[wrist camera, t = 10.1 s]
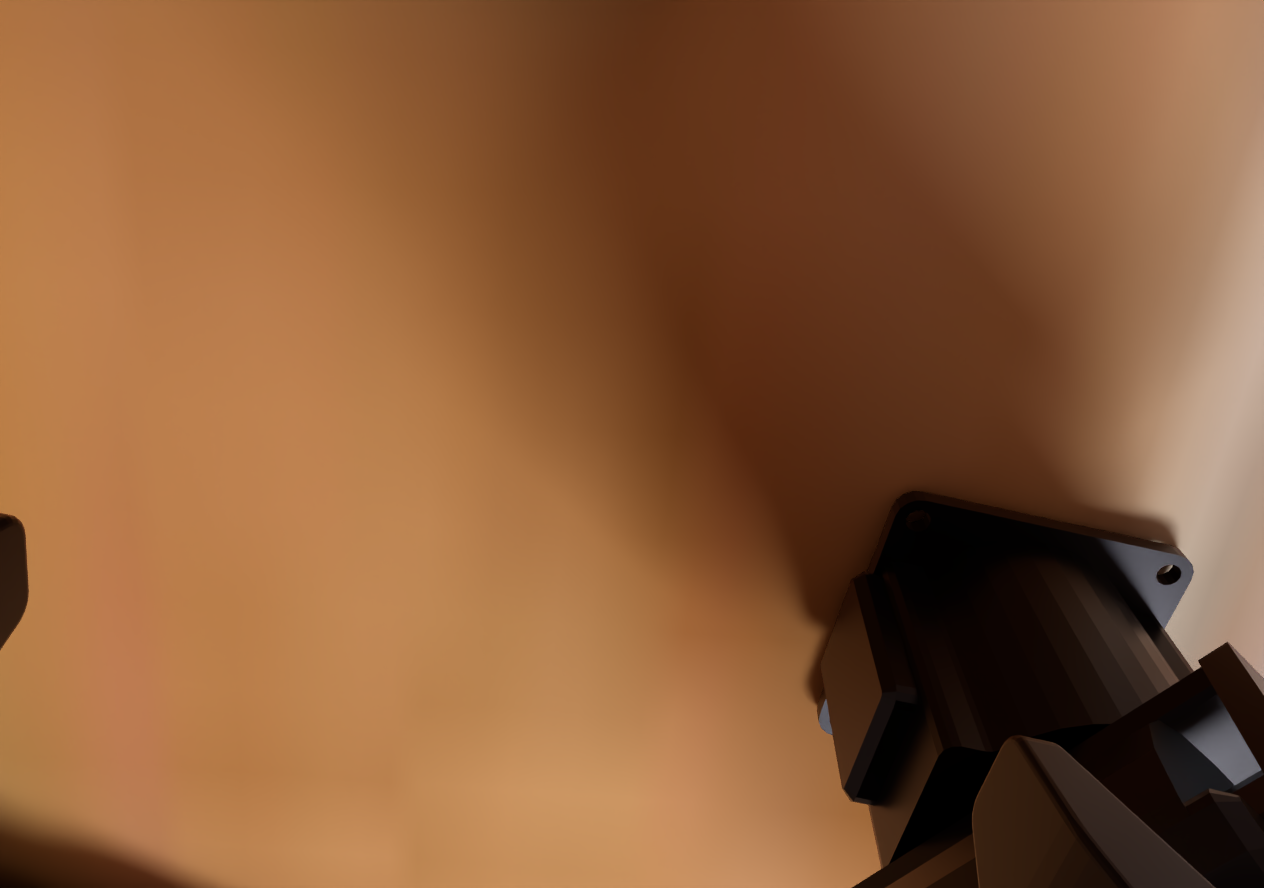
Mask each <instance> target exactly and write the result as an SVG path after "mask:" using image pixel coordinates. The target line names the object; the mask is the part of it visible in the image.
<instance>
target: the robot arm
mask: <svg viewBox="0 0 1264 888" xmlns="http://www.w3.org/2000/svg"><path fill="white" fill-rule="evenodd" d="M914 511H924V512H926V515H925V517H924V518H923V519H922V520H920V521H918V522H910V521H908V520H906V518H907V517H908V516H909V514H910V513H912V512H914ZM1166 565H1173V567H1172V568H1171V569H1170V570H1169V572H1167V573H1164V574H1162V575H1157V572H1158V571H1159V570H1160V569H1161V568H1162V567H1164V566H1166ZM1193 573H1194V571H1193V566H1192V564H1191V563H1190V561H1189V560H1188V559H1187V558H1186V557H1185V555H1184V554H1183V553H1182V552H1181V551H1180V550H1179V549H1178V548H1176V547H1174V546H1171V545H1167V544H1162V543H1157V542H1153V541H1148V540H1144V539H1139V538H1134V537H1130V536H1125V535H1120V534H1116V533H1111V532H1107V531H1102V530H1097V529H1093V528H1088V527H1084V526H1079V525H1074V524H1070V523H1065V522H1060V521H1056V520H1051V519H1047V518H1042V517H1037V516H1033V515H1028V514H1023V513H1019V512H1014V511H1010V510H1005V509H1000V508H996V507H991V506H987V505H982V504H977V503H973V502H968V501H963V500H959V499H954V498H950V497H945V496H940V495H936V494H931V493H926V492H920V491H912V492H909V493H906V494H903V495H902V496H901V497H899V498H898V499H896V501H895V503H894V504H893V506H892V508H891V510H890V513H889V516H888V518H887V521H886V524H885V526H884V529H883V532H882V534H881V537H880V540H879V542H878V545H877V548H876V550H875V553H874V556H873V558H872V561H871V564H870V566H869V569H868V572H862V573H861V574H859V575H858V576H856V577H855V578H853V579H852V580H851V583H850V585H849V588H848V591H847V593H846V596H845V599H844V601H843V604H842V607H841V610H840V612H839V615H838V618H837V620H836V623H835V626H834V629H833V631H832V634H831V637H830V639H829V642H828V645H827V648H826V650H825V653H824V656H823V658H822V661H821V672H822V678H823V684H824V688H823V691H822V694H821V696H820V699H819V702H818V706H817V714H818V720H819V724H820V726H821V728H822V729H823V730H824V731H825V732H826V733H828V734H831V735H833V740H834V745H835V751H836V756H837V762H838V767H839V773H840V779H841V784H842V788H843V790H844V792H845V793H846V795H847V796H848V798H849V799H850V801H852V802H857V803H862V804H867V805H868V806H869V811H870V815H871V820H872V825H873V830H874V835H875V840H876V845H877V849H878V854H879V859H880V864H881V870H879V871H878V872H876V873H875V874H873V875H871V876H870V877H868V878H867V879H865V880H863V881H862V882H860V883H859V884H857V885H856V886H854V887H852V888H1264V678H1263V677H1262V676H1261V675H1260V674H1259V673H1258V672H1257V671H1256V670H1255V669H1254V668H1253V667H1252V666H1251V665H1250V664H1249V663H1248V662H1247V661H1246V660H1245V659H1244V658H1243V657H1242V656H1241V655H1240V654H1239V653H1238V652H1237V650H1236V649H1235V648H1234V647H1233V646H1232V645H1231V644H1230V643H1228V642H1226V643H1225V644H1223V645H1222V646H1220V647H1219V648H1217V649H1215V650H1214V651H1212V652H1211V653H1209V654H1208V655H1206V656H1204V657H1203V658H1201V659H1200V660H1198V661H1199V663H1200V665H1201V667H1200V668H1199V669H1197V670H1196V671H1193V669H1192V668H1191V667H1190V665H1189V664H1188V662H1187V661H1186V659H1185V658H1184V657H1183V655H1182V654H1181V652H1180V651H1179V650H1178V648H1177V647H1176V645H1175V644H1174V642H1173V641H1172V640H1171V638H1170V637H1169V635H1168V634H1167V633H1166V631H1165V630H1164V629H1165V627H1166V625H1167V623H1168V621H1169V619H1170V618H1171V616H1172V614H1173V612H1174V610H1175V609H1176V607H1177V605H1178V603H1179V601H1180V599H1181V598H1182V596H1183V594H1184V592H1185V590H1186V589H1187V587H1188V585H1189V583H1190V581H1191V579H1192V576H1193ZM28 593H29V588H28V571H27V553H26V536H25V529H24V527H23V524H22V522H21V521H20V520H19V519H17V518H16V517H15V516H12V515H8V514H3V513H0V650H1V648H2V647H3V645H4V644H5V642H6V641H7V640H8V638H9V637H10V635H11V634H12V632H13V631H14V629H15V628H16V626H17V625H18V623H19V622H20V620H21V618H22V616H23V614H24V612H25V609H26V606H27V602H28Z"/></svg>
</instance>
